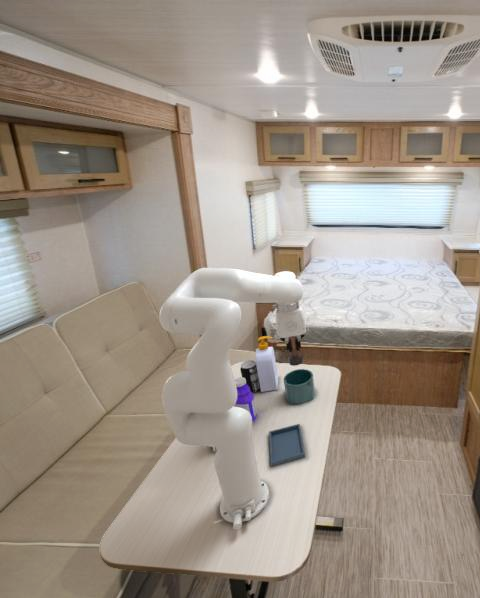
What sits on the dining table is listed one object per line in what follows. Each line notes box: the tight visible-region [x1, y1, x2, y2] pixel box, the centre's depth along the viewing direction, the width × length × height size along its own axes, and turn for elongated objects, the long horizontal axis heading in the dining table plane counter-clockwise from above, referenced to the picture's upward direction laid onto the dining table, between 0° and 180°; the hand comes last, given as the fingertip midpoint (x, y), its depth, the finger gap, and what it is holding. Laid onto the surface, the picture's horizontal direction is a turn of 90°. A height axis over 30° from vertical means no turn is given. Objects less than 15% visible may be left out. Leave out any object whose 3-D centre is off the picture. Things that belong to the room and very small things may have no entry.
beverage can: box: [239, 359, 261, 393], centre depth 140 cm, size 7×7×12 cm
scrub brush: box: [287, 336, 303, 367], centre depth 129 cm, size 5×5×11 cm
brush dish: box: [268, 423, 306, 467], centre depth 114 cm, size 14×10×2 cm
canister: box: [283, 368, 316, 406], centre depth 137 cm, size 11×11×9 cm
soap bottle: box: [254, 335, 279, 393], centre depth 141 cm, size 9×7×23 cm
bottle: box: [233, 376, 258, 423], centre depth 122 cm, size 7×6×17 cm
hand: (294, 349), depth 129 cm, fingers closed on scrub brush, 2 cm apart
